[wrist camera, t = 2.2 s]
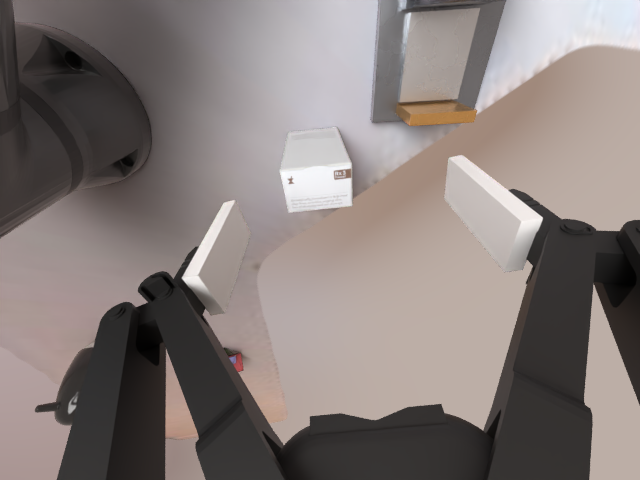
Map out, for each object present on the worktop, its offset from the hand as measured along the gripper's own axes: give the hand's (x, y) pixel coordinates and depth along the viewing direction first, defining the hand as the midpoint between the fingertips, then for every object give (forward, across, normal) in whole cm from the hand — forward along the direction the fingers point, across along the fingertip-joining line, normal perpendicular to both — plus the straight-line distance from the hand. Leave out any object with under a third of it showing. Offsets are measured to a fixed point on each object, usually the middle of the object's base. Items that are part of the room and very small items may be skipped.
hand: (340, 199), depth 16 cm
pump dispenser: (+17, -55, -35) cm, 67 cm away
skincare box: (+18, -2, -2) cm, 18 cm away
